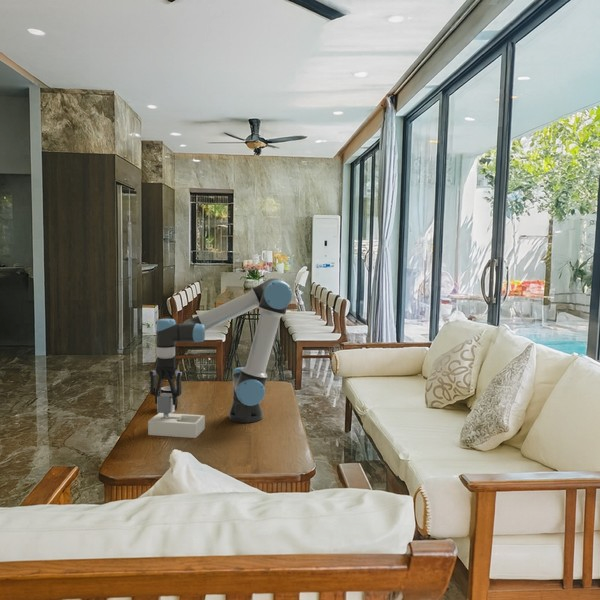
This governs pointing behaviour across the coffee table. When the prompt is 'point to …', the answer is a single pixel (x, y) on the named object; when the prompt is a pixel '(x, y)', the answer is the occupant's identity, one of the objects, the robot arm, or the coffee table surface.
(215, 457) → the coffee table surface
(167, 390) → the coffee mug
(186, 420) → the white stepped recess tray
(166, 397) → the t peg
